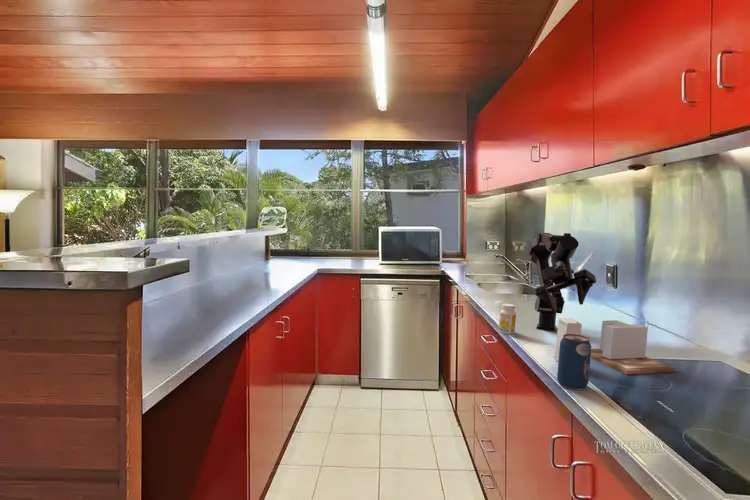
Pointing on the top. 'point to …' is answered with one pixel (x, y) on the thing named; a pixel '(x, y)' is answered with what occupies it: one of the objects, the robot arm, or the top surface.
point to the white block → (623, 340)
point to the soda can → (574, 361)
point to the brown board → (631, 364)
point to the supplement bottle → (507, 319)
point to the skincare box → (566, 331)
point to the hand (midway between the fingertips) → (567, 308)
